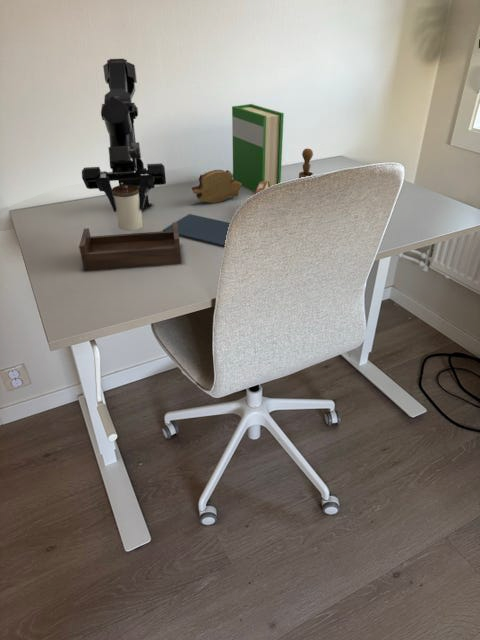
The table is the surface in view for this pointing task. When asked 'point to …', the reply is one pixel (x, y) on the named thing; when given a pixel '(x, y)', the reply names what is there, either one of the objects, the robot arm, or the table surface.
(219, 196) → the wooden carving
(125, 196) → the canister
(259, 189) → the tin
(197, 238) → the mat
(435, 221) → the table surface
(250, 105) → the hardback book
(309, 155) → the brown wooden pawn
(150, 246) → the brown wooden tray
